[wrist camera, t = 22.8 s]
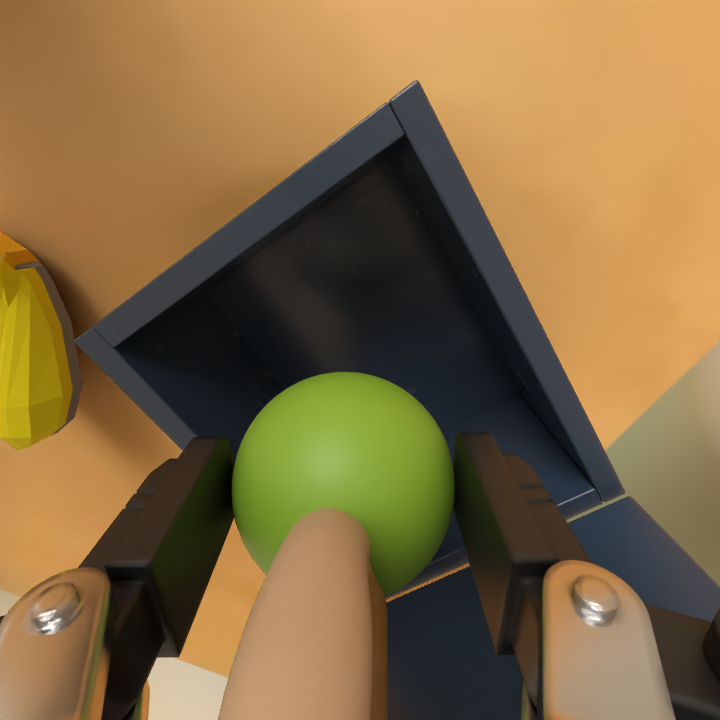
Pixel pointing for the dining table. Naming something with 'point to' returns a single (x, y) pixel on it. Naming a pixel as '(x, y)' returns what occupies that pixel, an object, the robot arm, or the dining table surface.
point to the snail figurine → (332, 542)
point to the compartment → (360, 313)
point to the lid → (471, 633)
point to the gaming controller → (34, 351)
